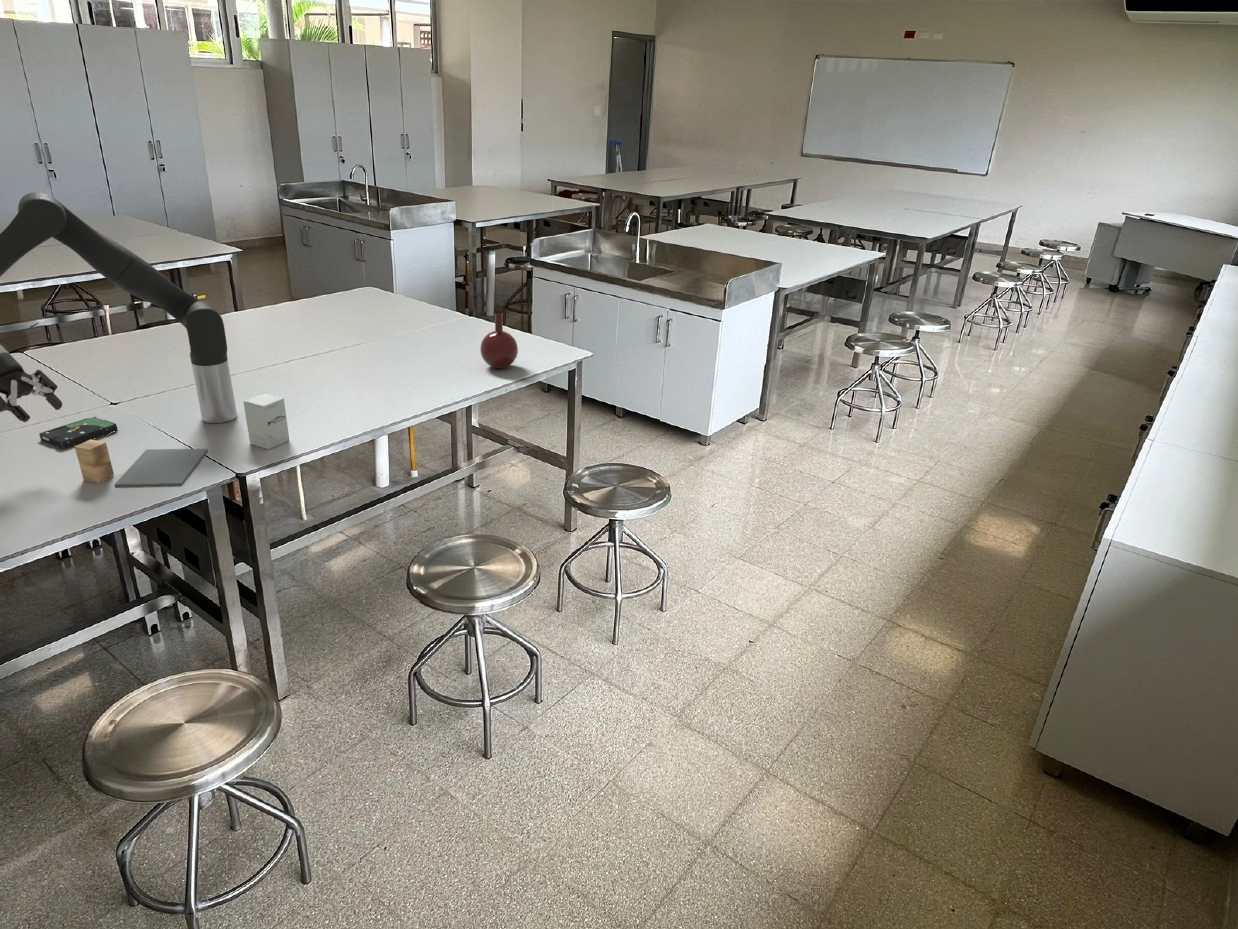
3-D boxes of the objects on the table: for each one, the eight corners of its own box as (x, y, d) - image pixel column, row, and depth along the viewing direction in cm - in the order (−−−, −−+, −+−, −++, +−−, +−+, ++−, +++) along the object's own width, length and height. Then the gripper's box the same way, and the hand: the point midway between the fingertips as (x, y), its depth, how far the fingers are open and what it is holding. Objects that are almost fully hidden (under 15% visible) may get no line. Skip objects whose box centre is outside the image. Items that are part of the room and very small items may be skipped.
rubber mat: (146, 451, 207) (146, 449, 207) (207, 450, 210) (207, 448, 209) (114, 486, 190) (114, 484, 189) (182, 485, 192) (181, 483, 192)
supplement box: (269, 450, 212) (262, 406, 207) (249, 444, 215) (242, 400, 209) (290, 440, 218) (284, 397, 213) (270, 434, 221) (264, 392, 215)
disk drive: (64, 452, 206) (119, 432, 218) (61, 442, 205) (117, 423, 217) (40, 442, 210) (95, 424, 222) (37, 433, 209) (93, 414, 221)
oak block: (99, 472, 196) (90, 439, 192) (114, 475, 195) (105, 442, 191) (83, 480, 192) (74, 446, 188) (98, 483, 191) (90, 449, 187)
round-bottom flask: (486, 374, 274) (485, 318, 266) (476, 363, 285) (475, 308, 276) (522, 371, 279) (522, 316, 271) (511, 360, 290) (511, 306, 281)
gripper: (-32, 360, 179) (22, 415, 181) (26, 344, 191) (76, 395, 194) (-43, 379, 182) (10, 433, 185) (15, 362, 195) (64, 412, 197)
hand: (44, 413), depth 189 cm, fingers open, 8 cm apart
